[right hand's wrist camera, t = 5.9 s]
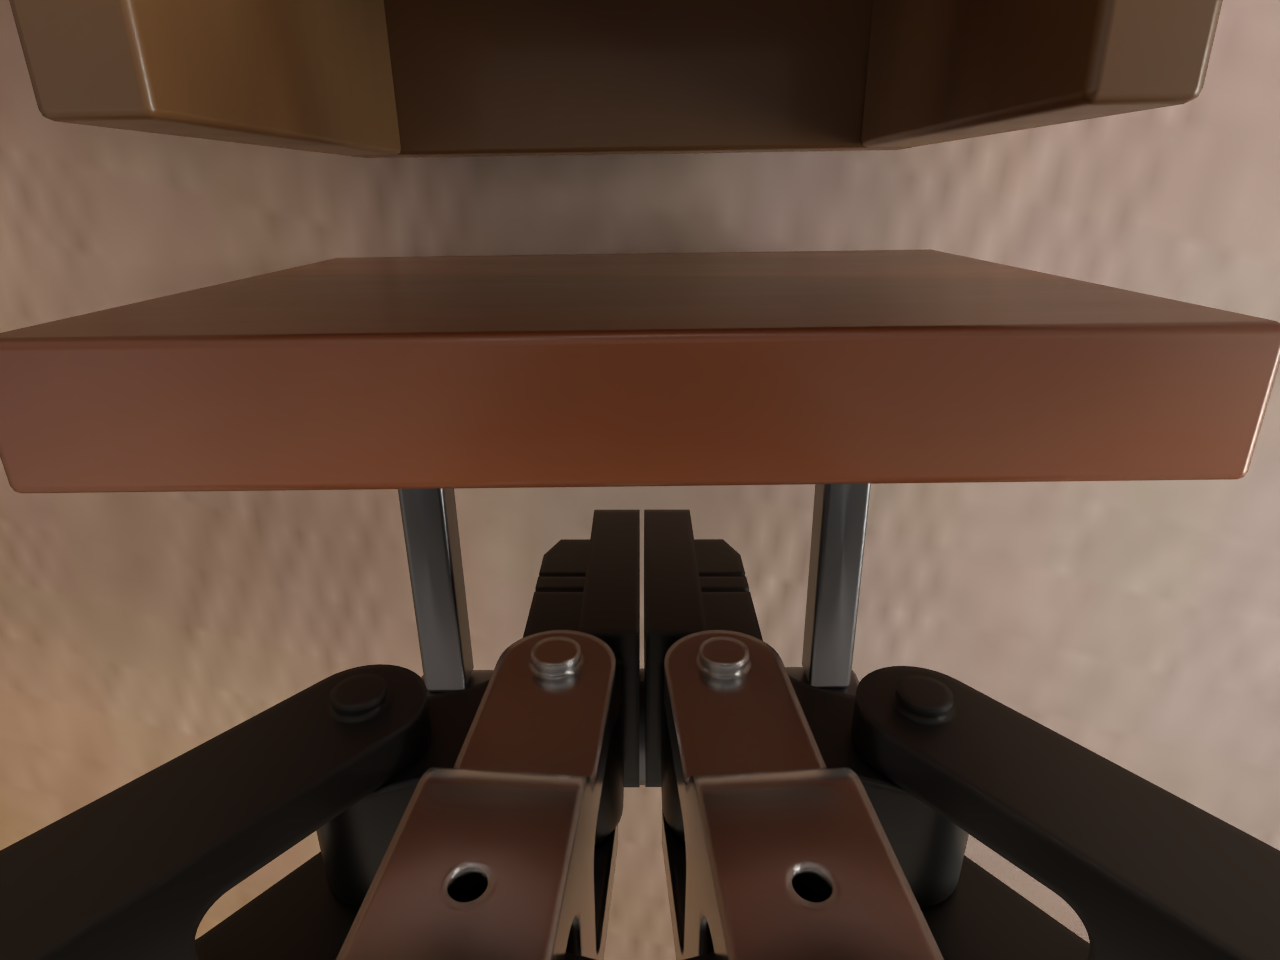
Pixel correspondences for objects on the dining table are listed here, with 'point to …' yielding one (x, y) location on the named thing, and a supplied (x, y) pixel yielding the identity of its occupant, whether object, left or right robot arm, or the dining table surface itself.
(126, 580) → the dining table surface
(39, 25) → the drawer
